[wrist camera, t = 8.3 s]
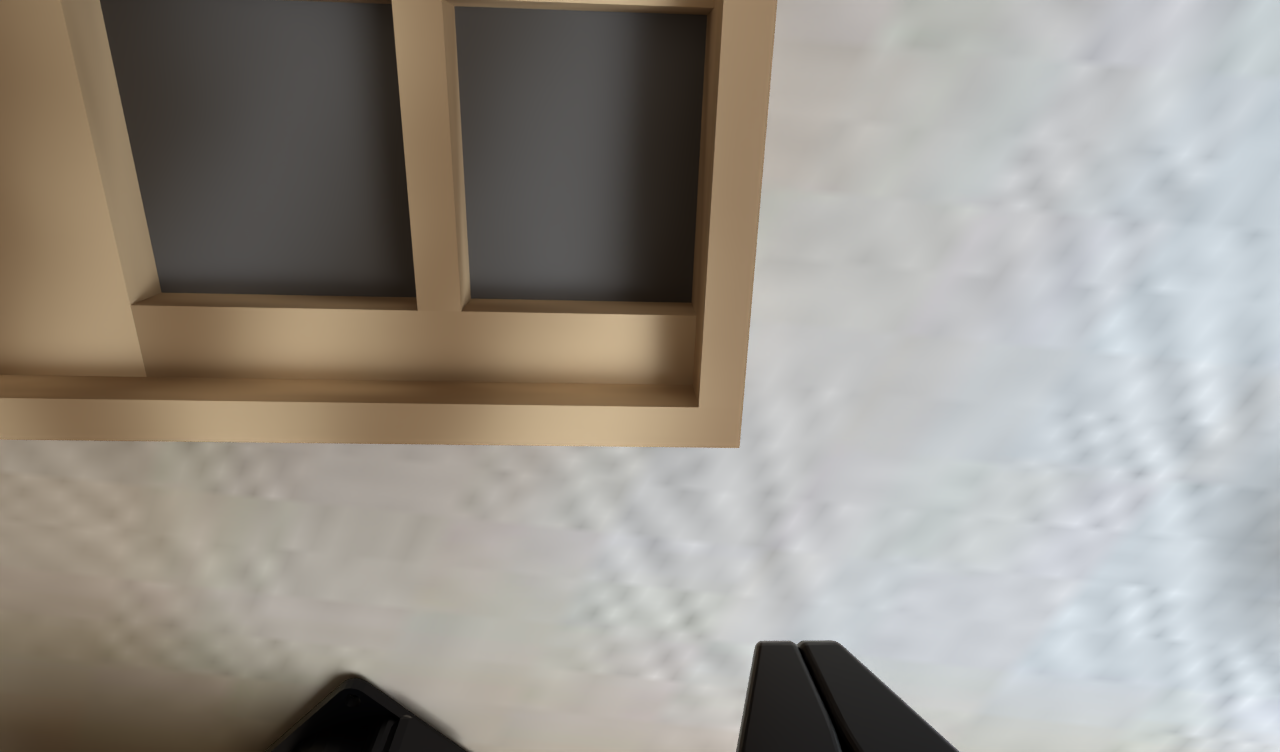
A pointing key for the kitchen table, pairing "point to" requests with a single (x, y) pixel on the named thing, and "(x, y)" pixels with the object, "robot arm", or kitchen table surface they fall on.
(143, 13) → the oak tray
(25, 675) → the kitchen table surface
